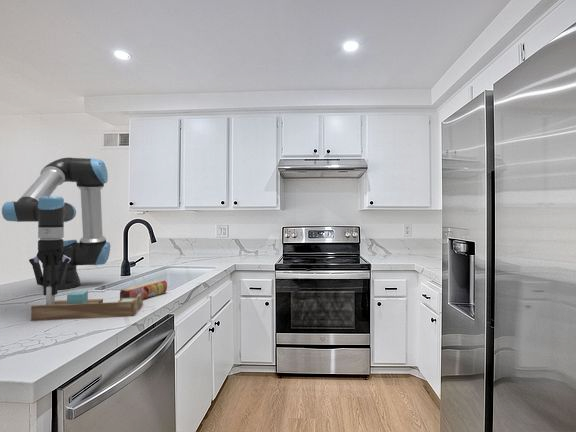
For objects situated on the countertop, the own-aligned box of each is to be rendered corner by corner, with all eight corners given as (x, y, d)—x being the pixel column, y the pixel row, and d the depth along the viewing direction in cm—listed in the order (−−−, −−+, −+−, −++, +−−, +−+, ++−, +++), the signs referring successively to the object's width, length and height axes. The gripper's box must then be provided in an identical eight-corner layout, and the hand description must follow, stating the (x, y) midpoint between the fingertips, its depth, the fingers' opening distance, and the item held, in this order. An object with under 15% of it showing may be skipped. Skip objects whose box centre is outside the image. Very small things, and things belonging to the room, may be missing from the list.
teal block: (72, 304, 121) (73, 291, 121) (87, 304, 122) (87, 291, 122) (66, 308, 117) (67, 294, 116) (82, 308, 118) (82, 294, 118)
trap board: (52, 308, 127) (52, 295, 127) (142, 304, 134) (142, 292, 134) (30, 320, 112) (31, 306, 112) (133, 315, 119) (133, 302, 119)
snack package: (129, 305, 134) (129, 288, 134) (118, 302, 136) (118, 287, 136) (167, 293, 153) (168, 279, 153) (157, 292, 156) (157, 278, 156)
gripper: (24, 239, 112) (23, 307, 112) (66, 239, 115) (65, 306, 115) (36, 238, 119) (35, 302, 119) (75, 238, 122) (74, 300, 122)
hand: (50, 304), depth 117 cm, fingers closed
